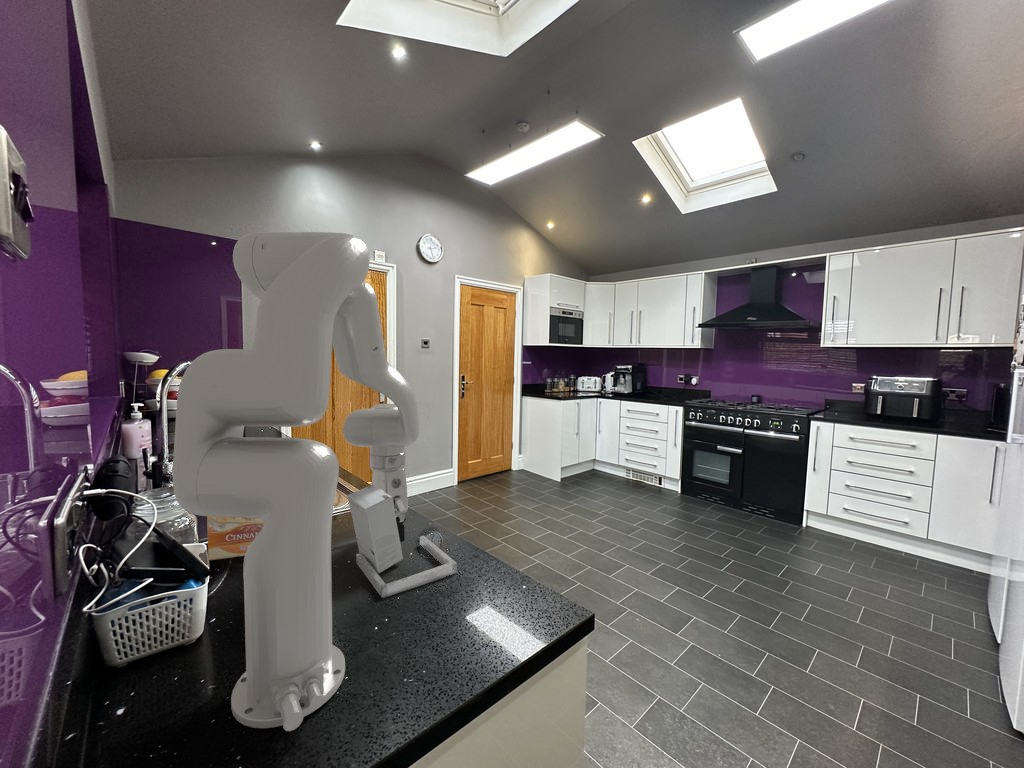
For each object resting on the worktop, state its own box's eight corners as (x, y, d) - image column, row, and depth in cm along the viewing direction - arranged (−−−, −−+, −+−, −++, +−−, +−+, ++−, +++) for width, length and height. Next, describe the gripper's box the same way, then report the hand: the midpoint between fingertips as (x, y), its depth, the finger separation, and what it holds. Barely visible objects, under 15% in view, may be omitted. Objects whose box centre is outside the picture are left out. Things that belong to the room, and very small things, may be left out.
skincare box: (360, 558, 84) (343, 495, 80) (386, 542, 88) (371, 482, 84) (379, 575, 78) (362, 508, 74) (406, 558, 82) (392, 494, 78)
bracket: (456, 572, 79) (457, 563, 79) (382, 599, 70) (382, 588, 70) (423, 543, 91) (423, 535, 91) (356, 563, 82) (356, 554, 82)
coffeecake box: (207, 565, 80) (204, 470, 79) (216, 549, 87) (213, 461, 85) (292, 552, 86) (290, 463, 85) (295, 538, 93) (293, 455, 91)
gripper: (420, 467, 84) (420, 544, 86) (389, 448, 98) (390, 516, 99) (385, 473, 80) (386, 555, 81) (358, 453, 93) (359, 524, 95)
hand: (388, 533), depth 90 cm, fingers open, 9 cm apart
